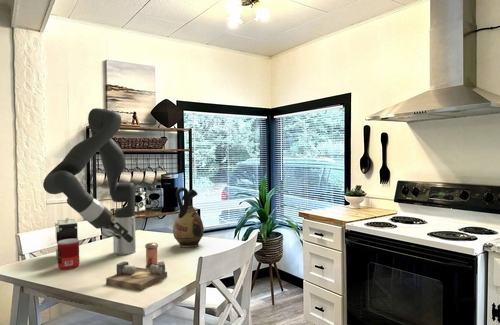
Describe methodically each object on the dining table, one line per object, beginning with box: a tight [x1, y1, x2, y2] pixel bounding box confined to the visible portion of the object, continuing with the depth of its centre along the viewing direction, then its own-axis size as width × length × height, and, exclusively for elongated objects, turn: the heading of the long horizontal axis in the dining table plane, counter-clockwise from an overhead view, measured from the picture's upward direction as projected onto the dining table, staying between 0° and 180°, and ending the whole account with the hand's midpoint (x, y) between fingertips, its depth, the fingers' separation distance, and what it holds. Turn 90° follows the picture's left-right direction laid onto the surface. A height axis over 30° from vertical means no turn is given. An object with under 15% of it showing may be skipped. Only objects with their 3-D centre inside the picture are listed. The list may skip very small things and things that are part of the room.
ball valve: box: [54, 217, 79, 258], centre depth 159 cm, size 18×8×18 cm, turn 31°
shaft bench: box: [105, 260, 168, 291], centre depth 127 cm, size 17×14×6 cm
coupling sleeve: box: [144, 242, 159, 269], centre depth 141 cm, size 5×5×10 cm
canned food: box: [56, 239, 80, 271], centre depth 144 cm, size 8×8×11 cm
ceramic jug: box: [172, 186, 205, 248], centre depth 176 cm, size 17×15×30 cm
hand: (125, 238), depth 133 cm, fingers open, 8 cm apart
